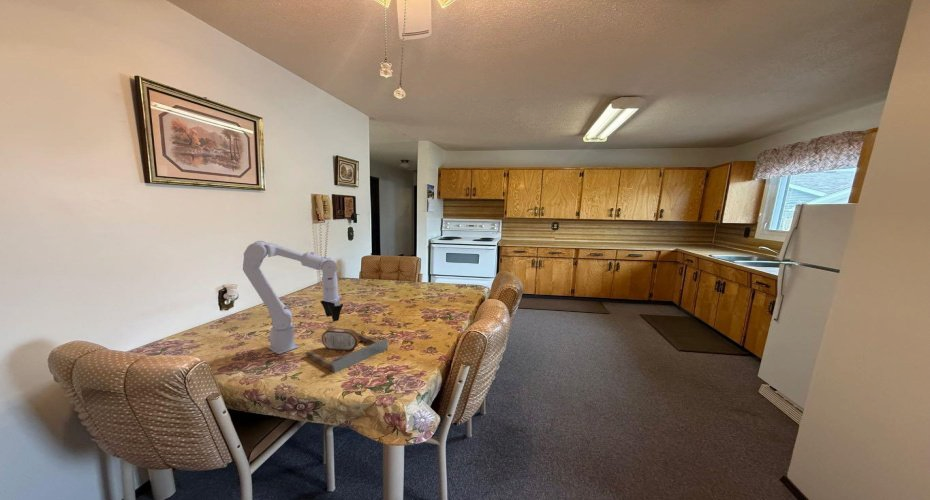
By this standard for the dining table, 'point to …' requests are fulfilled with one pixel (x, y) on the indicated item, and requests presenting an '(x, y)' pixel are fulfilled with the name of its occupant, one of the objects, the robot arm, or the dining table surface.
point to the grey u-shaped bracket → (351, 354)
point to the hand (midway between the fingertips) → (332, 318)
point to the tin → (340, 339)
